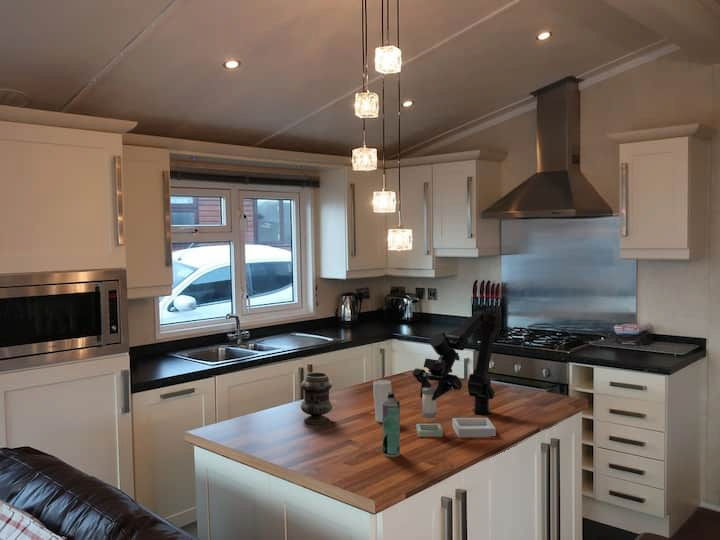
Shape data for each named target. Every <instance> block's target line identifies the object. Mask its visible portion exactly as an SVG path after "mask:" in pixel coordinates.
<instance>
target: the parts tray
mask: <svg viewBox="0 0 720 540" xmlns="http://www.w3.org/2000/svg"><path fill="white" fill-rule="evenodd" d="M452 428H453V430H454V432H455V434H456V435H457V436H456V437H458V438H460V439H461V438H463V439H464V438H468V437H469V438H491V437H490V436H496V437H497V428H496V427H495V426H494V424H493V423H492V421H491V420H490V419H489V418H488V417H453V418H452ZM488 436H489V437H488Z"/></svg>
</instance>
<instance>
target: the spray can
mask: <svg viewBox="0 0 720 540" xmlns="http://www.w3.org/2000/svg"><path fill="white" fill-rule="evenodd" d="M400 408H401V407H400V399H398V398H396V396H395V393H394V392H392V391H391V392H390V393H388V396H387V398H386V399H384V400H383V423H382V455H383V456H384V457H388V458H397V457H399V456H400V455H401V444H400V443H401V441H400V440H401V434H400V433H401V430H400V428H401V423H400V422H401V418H400V417H401V416H400V415H401V409H400Z"/></svg>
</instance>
